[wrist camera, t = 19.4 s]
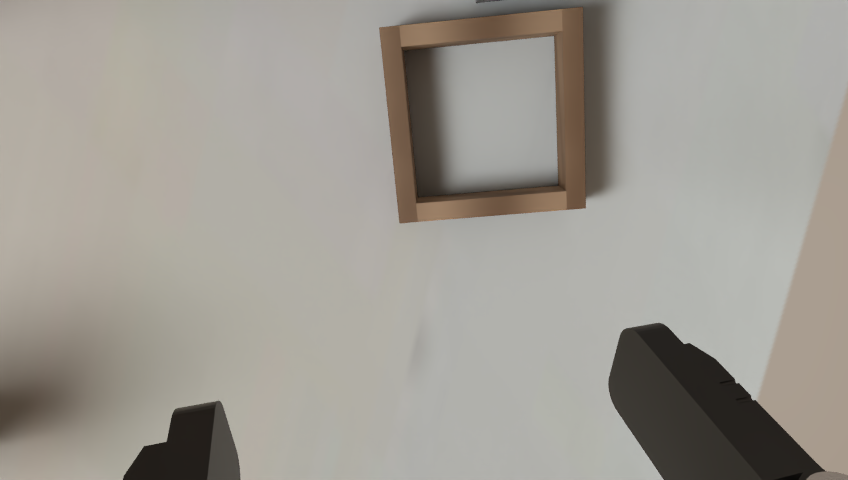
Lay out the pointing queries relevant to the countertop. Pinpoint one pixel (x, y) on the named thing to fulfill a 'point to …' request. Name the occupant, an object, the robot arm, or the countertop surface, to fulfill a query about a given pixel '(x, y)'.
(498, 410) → the countertop surface
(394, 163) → the well frame
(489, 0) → the charcoal mat
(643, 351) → the robot arm
